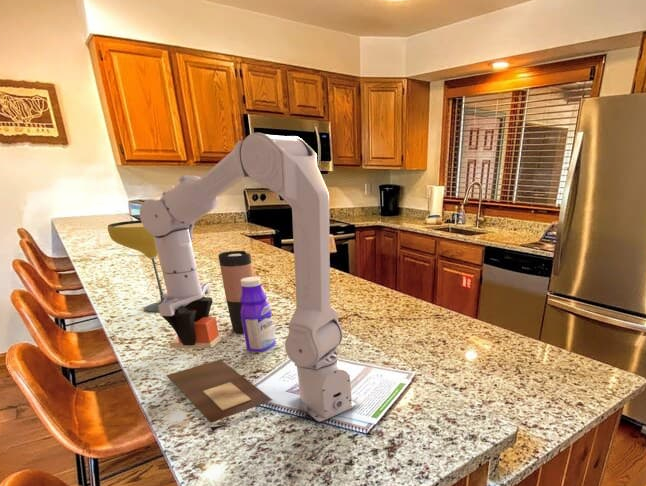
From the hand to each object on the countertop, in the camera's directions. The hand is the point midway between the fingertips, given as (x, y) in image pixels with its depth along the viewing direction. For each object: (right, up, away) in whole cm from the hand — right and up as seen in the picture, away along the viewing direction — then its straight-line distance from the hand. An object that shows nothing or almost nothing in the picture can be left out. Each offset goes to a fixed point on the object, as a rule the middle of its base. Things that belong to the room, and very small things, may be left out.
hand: (195, 339), depth 83 cm
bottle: (+7, -2, +18) cm, 19 cm away
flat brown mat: (+4, -10, 0) cm, 11 cm away
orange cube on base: (0, -1, 0) cm, 1 cm away
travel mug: (-2, +4, +32) cm, 32 cm away
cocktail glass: (-34, +12, +50) cm, 62 cm away
